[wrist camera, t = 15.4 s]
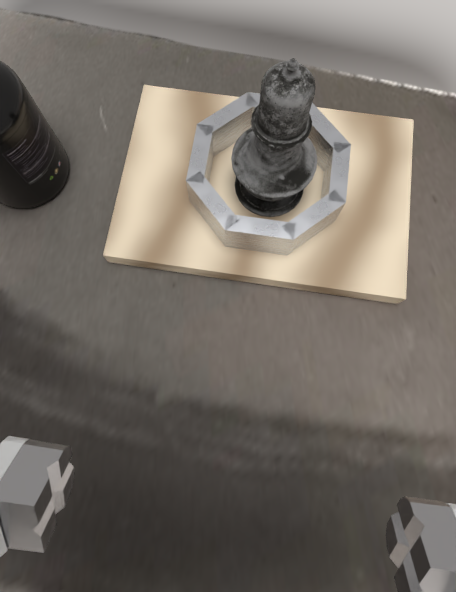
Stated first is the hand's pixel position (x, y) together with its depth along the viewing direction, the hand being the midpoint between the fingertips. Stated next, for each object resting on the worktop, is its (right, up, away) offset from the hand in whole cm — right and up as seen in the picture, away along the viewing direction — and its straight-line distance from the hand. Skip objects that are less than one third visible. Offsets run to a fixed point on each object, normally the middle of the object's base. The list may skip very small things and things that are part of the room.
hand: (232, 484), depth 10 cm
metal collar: (+3, +13, +21) cm, 25 cm away
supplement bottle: (-16, +15, +24) cm, 32 cm away
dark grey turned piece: (+3, +13, +22) cm, 26 cm away
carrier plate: (+3, +13, +23) cm, 26 cm away
